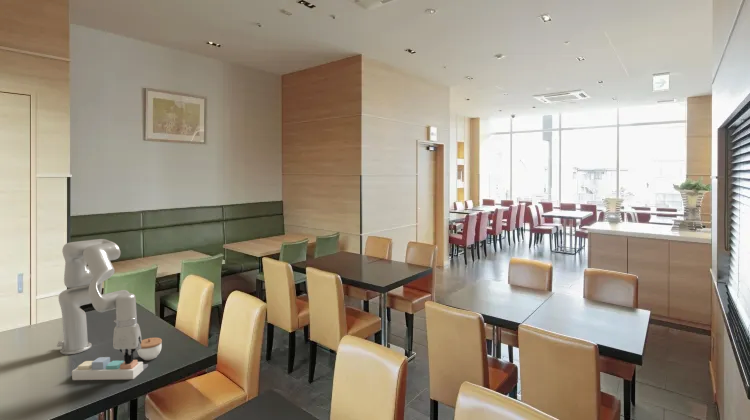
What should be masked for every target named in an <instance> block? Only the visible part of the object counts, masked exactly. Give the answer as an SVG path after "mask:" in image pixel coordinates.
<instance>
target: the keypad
mask: <svg viewBox="0 0 750 420" xmlns="http://www.w3.org/2000/svg"><path fill="white" fill-rule="evenodd" d="M148 367H149V364H148V363H144V362H143V361H138V364H137V365H136V366H135V367H133V368H132V369H120V368H119V369H106V368H105V369H96V370H92V368H91V369H90V370H78V366H77V367H76V368H75V369H74V368H73V370H72V371H71V376H72V377H71V378H72V379H71V380H72V381H93V380H94V381H95V380H96V381H99V380H103V381H104V380H134V379H136V378H137V377H138V376H139V375H140V374H141V373H142V372H143V371H145V370H146V369H147V368H148Z"/></svg>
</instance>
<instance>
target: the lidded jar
mask: <svg viewBox="0 0 750 420" xmlns="http://www.w3.org/2000/svg"><path fill="white" fill-rule="evenodd" d="M141 341H142V342H141V349H139V350H136V351H137V355H138V356H139V357H140V358H141V359H142V360H144V361H150V360H154V359H156V358H157V357H158V356H159V354H160V353H161V351H162V347H163V345H162V343H163V340H162V338H160V337H149V338H144V339H141Z"/></svg>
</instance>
